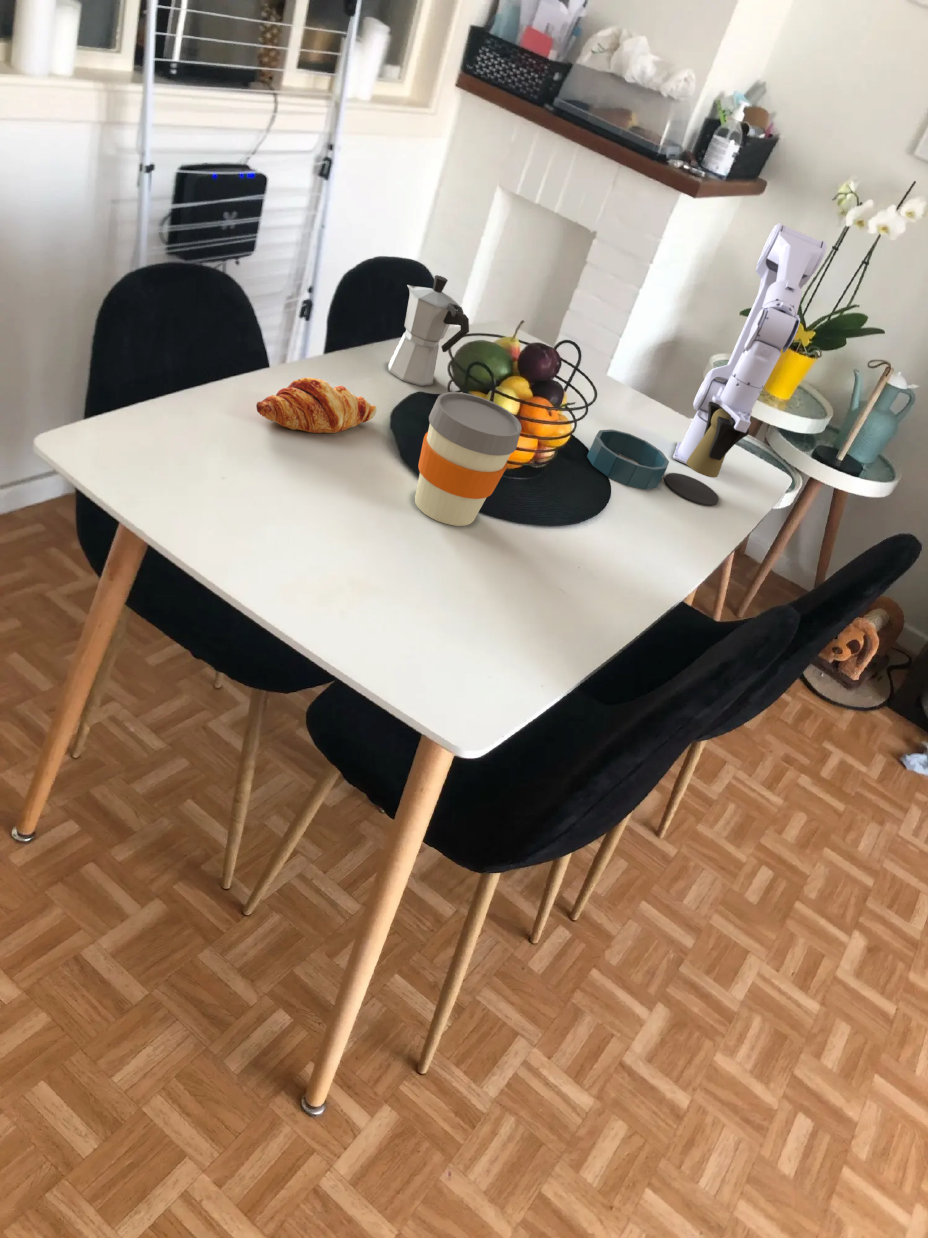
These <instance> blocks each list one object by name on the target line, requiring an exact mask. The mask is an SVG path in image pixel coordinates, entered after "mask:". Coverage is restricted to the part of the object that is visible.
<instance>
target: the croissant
mask: <svg viewBox="0 0 928 1238" xmlns="http://www.w3.org/2000/svg"><path fill="white" fill-rule="evenodd" d="M256 411H257V413H258V414H259V415H261V417H264V418H265V419H267V420H269V421H271V422H275V423H277V424H278V425H280V426H282V427H284V428H287V429H290V430H298V431H303V432H308V433H312V434H313V433H315V434H320V433H325V434H335V433H340V432H343V431H347V430H348V429H349V428H353V427H357V426H358V425H360V424H361V423H367V422H368V421H370V420H372V419H373V418H374V417H375V416H376V414H377V406H376V405H371V404H370V402H368V400H367V399H366V398H365V397H363V396H356V395H355V394H354V393H352V392H351V391H350V390H349V389H347V388H346V387H345V386H343V385H337V386H335V387H333V386H332V385H331V384H329V382H327V381H326V380H323V379H321V378H317V377H316V378H315V377H302V378H300V379H295V380H293V381H291V383H290V384H289V385H288V386H287V387H282V388H281V389H279V390H278V391H277V393H276V394H274V395H273V394H271V395H270V396H267V397H266V398H263V400H261V401H257V402H256Z"/></svg>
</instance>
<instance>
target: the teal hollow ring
mask: <svg viewBox="0 0 928 1238" xmlns="http://www.w3.org/2000/svg"><path fill="white" fill-rule="evenodd" d="M618 454H619V455H621V456H619V455H618ZM586 457H587V459H588V461H589V462H590V464H591V465H592V467H594V468H595V469H596V470H598V471H599V472H601V474H603V475H604V476H606V477H607V478H609V479H611V480H613V481H616V482H618V483H620V484H622V485H624V486H627V487H631V488H636V489H641V490H651V489H657V488H659V485H660V483H661V481H662V479H663V478H664V475H665V473H666V471H667V469H668V466H669V463H670V461H669V459H668V458H667V457H666V455H665V454H664V452H663V451H661V450H660V449H659V448H657V447H656V446H655V445H653V444H652V443H650V442H649V441H647V440H645V439H642V438H640V437H638V436H636V435H634V434H631V433H629V432H625V431H620V430H616V429H611V428H609V429H600V430H598V432H597V433H596V435H595V437H594V439H593V441H592V443H591V445H590V448H589V450H588V453H587V455H586ZM624 457H625V458H624ZM626 458H628V459H630V460H628V459H626ZM631 460H632V461H631ZM633 461H634V462H633ZM635 462H637V463H635Z"/></svg>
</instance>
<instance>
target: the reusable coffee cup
mask: <svg viewBox="0 0 928 1238" xmlns="http://www.w3.org/2000/svg"><path fill="white" fill-rule="evenodd" d="M428 422H429V425H428V430H427V431H426V433H425V434H424V436H423V441H422V446H421V450H420V456H419V460H418V467H417V468H418V471H419V474H418V480H417V486H416V491H415V496H414V503H415V505H416V507H417V508H418V509H419V511H421V513H423V514H424V515H425V516H427V517H429V518H431V519H432V520H434V521H437V522H439V523H442V524H446V525H449V526H456V527H464V526H468V525H471V524H472V523H473V522H474V521H475V519H476V517H477V515H478V514H479V512H480V510H481V508H482V507H483V505H484V503H485V501H486V499H487V498H489V497H490V496H491V495H492V494H493V493H494V492H495V489H496V488H497V486H498V484H499V482H500V480H501V478H502V477H503V475H504V473H505V472H506V470H507V468H508V461H509V458H510V457H511V455H512V454H513V453H514V452H516V450H517V447H518V443H519V440H520V436H521V432H522V429H523V428H522V424H521V423H522V422H521V421H520V420H519V419H518V418H517V417H516V416H515V415H514V414H513V413H512V412H510V411H509V410H508V409H506V408H505V407H503V406H502V405H499V404H497V403H496V402H494V401H492V400H489V399H486V398H484V397H481V396H478V395H474V394H470V393H466V392H459V391H449V392H443V393H441V394H439V395H438V396H437V398H436V400H435V402H434V404H433V407H432V409H431V411H430V413H429V415H428Z"/></svg>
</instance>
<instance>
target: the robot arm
mask: <svg viewBox="0 0 928 1238" xmlns="http://www.w3.org/2000/svg"><path fill="white" fill-rule="evenodd" d="M827 248H828V246H827V242H826V241H825V240H821V239H818V238H816V237H813V236H811V235H807V234H806V233H803V232H801V231H799V230H796V229H794V228H791V227H789V226H786V225H784V224H783V223H781V222H779V223H777V224H775V225H774V226H773V227H772V230H771V231H770V233H769V235H768V237H767V239H766V241H765V243H764V246H763V248H762V251H761V253H760V256H759V258H758V260H757V262H756V268H755V273H756V274H757V275H758V277H759V278H760V282H759V287H758V292H757V295H756V298H755V300H754V302H753V305H752V307H751V308H750V309H751V310H750V311H749V314H748V316H747V318H746V321H745V322H744V325H743V327H742V330H741V332H740V334H739V337H738V339H737V341H736V343H735V346H734V348H733V351H732V352H731V354H730V357H729V360H728V361H727V364H725V365H721V366H718V367H713V368H711V369H710V370H709V371H708V372H707V373H706V375H705V376H704V379H703V381H702V382H701V384H700V386H699V387H698V390H697V393H696V395H695V396H694V397H695V398H694V400H693V403H692V406H693V410H696V412H695V414H694V417H693V419H692V420H691V423H690V424H689V427H688V429H687V431H686V433H685V434H684V437H683V439H682V441H678V442H677V443H676V447H675V450H674V452H673V455H672V459H674V460H676V461H678V462H680V463H682V464H685V465H687V460H688V458H689V457H690V455H691V454H692V453H693V451H694V450H695V448H696V447H697V445H698V444H699V442H700V441H701V439H702V438H703V436H704V435H705V434H706V432H707V431H708V429H709V428H710V426H711V418H712V416H713V414H714V412H715V411H716V410H718V409H724V410H725V411H726V412H728V413H729V414H730V415H731V417H730V419H729V420H728V419H725V418H722V417H719V416H718V418H717V430H716V434H715V438H714V440H713V443H712V446H711V448H710V452H709V457H710V458H713V459H716V460H719V461H720V460H721V459H722V458H723V457H724V456H725V457H726V455H725V454H728V452H729V451H730V450H731V449H732V448H733V447H734V446H735V445H736V444H737V443H738V442H739V441H741V440H743V439H744V438H745V437H748V436H749V434H750V429H749V428H750V426H751V424H752V422H751V417H752V414H753V413H752V412H753V409H754V407H755V404H756V403H757V401H758V398H759V397H760V395H761V393H762V391H763V389H764V388H765V385H766V384H767V382H768V380H769V378H770V376H771V375H772V372H773V370H774V369H775V366H776V365H777V363H778V361H779V360H780V357H781V355H782V353H783V354H785V353H786V352H787V350H788V349H789V348H790V346H791V345H792V343H793V341H794V340H795V338H796V335H797V333H798V330H799V327H800V322H801V318H800V315H799V314H798V311H799V307H800V305H801V301H802V296H803V292H802V289H803V287H804V286H806V285H807V283H808V282H809V280H810V279H811V278H812V276H813V275H815V273H816V271H818V269H819V266H820V265H821V263H822V261H823V259H824V257H825V255H826V252H827V250H828V249H827Z"/></svg>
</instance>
